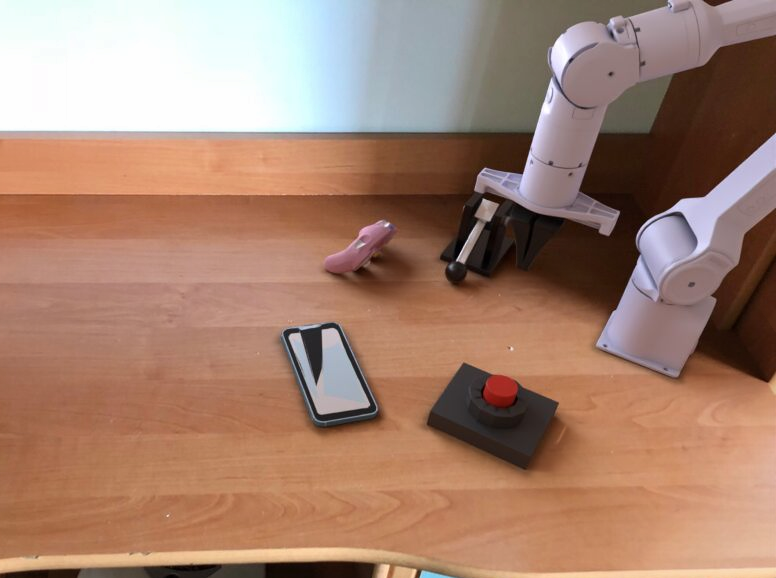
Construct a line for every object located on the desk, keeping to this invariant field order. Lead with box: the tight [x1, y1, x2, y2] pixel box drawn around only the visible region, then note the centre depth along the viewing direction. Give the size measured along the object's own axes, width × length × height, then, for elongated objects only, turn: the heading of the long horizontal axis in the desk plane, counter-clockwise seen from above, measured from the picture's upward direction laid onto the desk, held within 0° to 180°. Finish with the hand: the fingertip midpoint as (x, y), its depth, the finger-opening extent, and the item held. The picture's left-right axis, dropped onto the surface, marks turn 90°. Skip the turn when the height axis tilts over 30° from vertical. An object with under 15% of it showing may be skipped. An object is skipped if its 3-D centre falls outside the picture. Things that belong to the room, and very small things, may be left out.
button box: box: [426, 361, 560, 471], centre depth 84 cm, size 11×9×4 cm
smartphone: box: [280, 321, 379, 428], centre depth 89 cm, size 7×1×15 cm
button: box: [483, 374, 518, 408], centre depth 82 cm, size 3×3×2 cm
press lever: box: [444, 198, 500, 284], centre depth 102 cm, size 12×3×3 cm, turn 148°
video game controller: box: [323, 219, 398, 274], centre depth 103 cm, size 10×5×7 cm, turn 143°
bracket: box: [439, 191, 516, 279], centre depth 104 cm, size 9×7×8 cm
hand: (524, 265), depth 88 cm, fingers closed
